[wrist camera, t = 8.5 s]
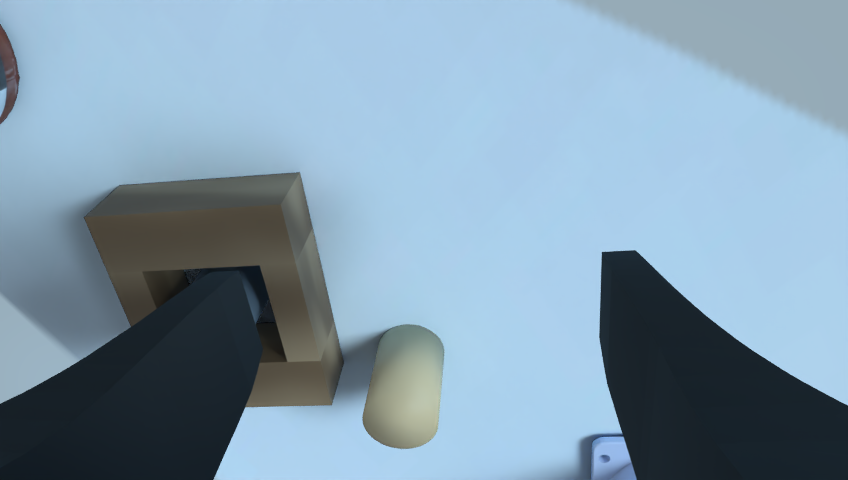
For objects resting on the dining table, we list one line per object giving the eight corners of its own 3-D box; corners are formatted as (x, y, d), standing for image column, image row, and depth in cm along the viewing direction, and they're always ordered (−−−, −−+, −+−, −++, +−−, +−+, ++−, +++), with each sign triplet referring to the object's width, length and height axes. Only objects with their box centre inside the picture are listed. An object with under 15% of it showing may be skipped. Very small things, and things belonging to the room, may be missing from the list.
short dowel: (447, 374, 28) (441, 448, 24) (383, 376, 28) (369, 449, 24) (440, 323, 26) (433, 393, 23) (373, 325, 26) (356, 394, 23)
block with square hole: (343, 362, 28) (331, 404, 25) (190, 367, 28) (166, 408, 26) (299, 172, 23) (280, 204, 21) (119, 185, 24) (83, 217, 22)
